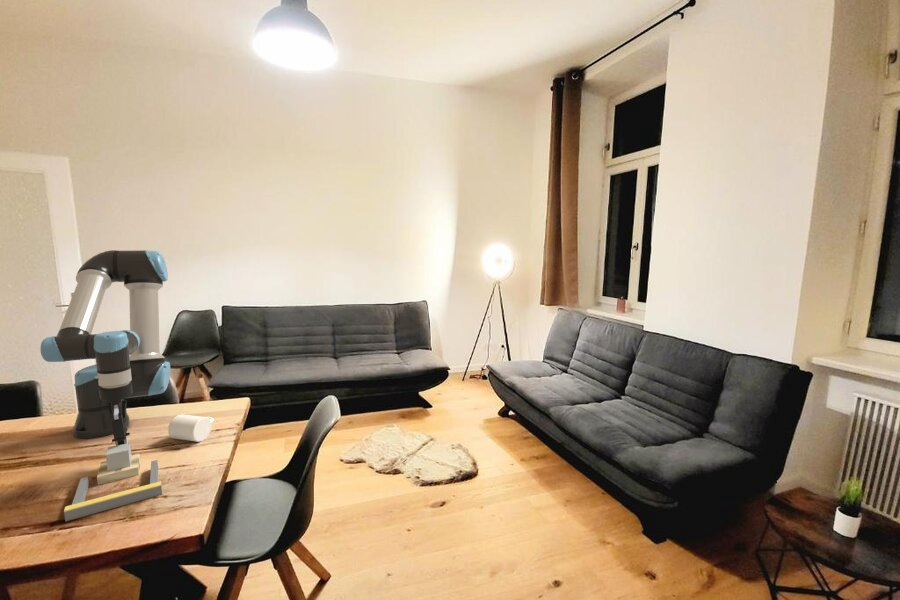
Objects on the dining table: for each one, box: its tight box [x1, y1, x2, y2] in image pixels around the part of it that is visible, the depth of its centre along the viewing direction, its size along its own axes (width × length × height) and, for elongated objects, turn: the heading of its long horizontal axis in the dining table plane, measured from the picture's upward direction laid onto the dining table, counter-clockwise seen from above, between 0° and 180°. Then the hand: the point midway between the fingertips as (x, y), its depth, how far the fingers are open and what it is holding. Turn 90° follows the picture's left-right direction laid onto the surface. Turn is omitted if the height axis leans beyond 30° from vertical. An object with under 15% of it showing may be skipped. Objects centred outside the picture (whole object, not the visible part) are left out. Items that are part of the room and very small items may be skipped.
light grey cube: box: [105, 442, 133, 471], centre depth 116 cm, size 5×5×5 cm
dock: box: [63, 459, 163, 522], centre depth 108 cm, size 16×19×3 cm
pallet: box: [96, 453, 141, 486], centre depth 117 cm, size 9×9×3 cm
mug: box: [167, 414, 215, 443], centre depth 139 cm, size 12×10×8 cm
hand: (123, 458), depth 121 cm, fingers closed
